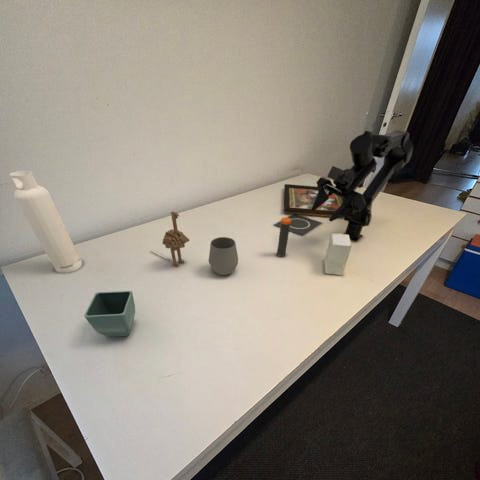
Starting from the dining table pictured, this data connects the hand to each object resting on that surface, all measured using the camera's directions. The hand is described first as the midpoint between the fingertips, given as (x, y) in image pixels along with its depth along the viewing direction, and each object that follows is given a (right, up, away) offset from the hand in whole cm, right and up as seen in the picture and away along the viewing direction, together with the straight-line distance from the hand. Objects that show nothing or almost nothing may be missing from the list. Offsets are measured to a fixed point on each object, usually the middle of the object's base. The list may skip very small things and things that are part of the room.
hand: (320, 215), depth 86 cm
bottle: (-84, -17, +1) cm, 86 cm away
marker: (-12, -11, +8) cm, 18 cm away
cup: (-32, -18, 0) cm, 37 cm away
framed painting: (+11, +24, +44) cm, 51 cm away
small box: (+5, -17, +2) cm, 18 cm away
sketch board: (-2, +7, +26) cm, 27 cm away
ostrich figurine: (-52, -14, +5) cm, 54 cm away
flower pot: (-57, -37, -19) cm, 71 cm away
